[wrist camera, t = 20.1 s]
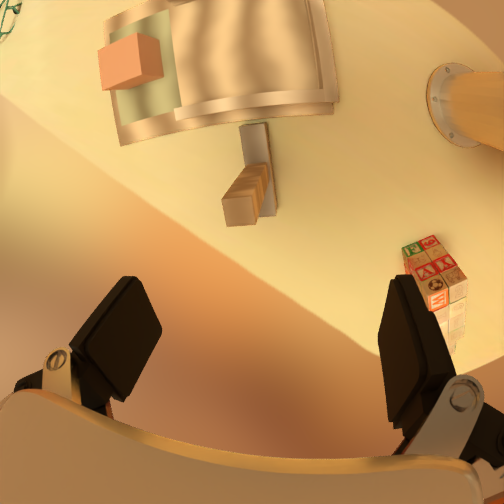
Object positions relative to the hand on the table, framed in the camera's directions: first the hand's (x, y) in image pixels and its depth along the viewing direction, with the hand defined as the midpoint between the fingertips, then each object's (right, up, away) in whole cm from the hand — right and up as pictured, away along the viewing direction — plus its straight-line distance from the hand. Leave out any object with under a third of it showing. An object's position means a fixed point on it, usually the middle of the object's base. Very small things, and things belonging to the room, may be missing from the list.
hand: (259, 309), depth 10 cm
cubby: (-6, +28, +18) cm, 34 cm away
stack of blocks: (+30, -4, +31) cm, 44 cm away
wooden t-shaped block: (+1, +13, +25) cm, 29 cm away
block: (-15, +28, +18) cm, 36 cm away
